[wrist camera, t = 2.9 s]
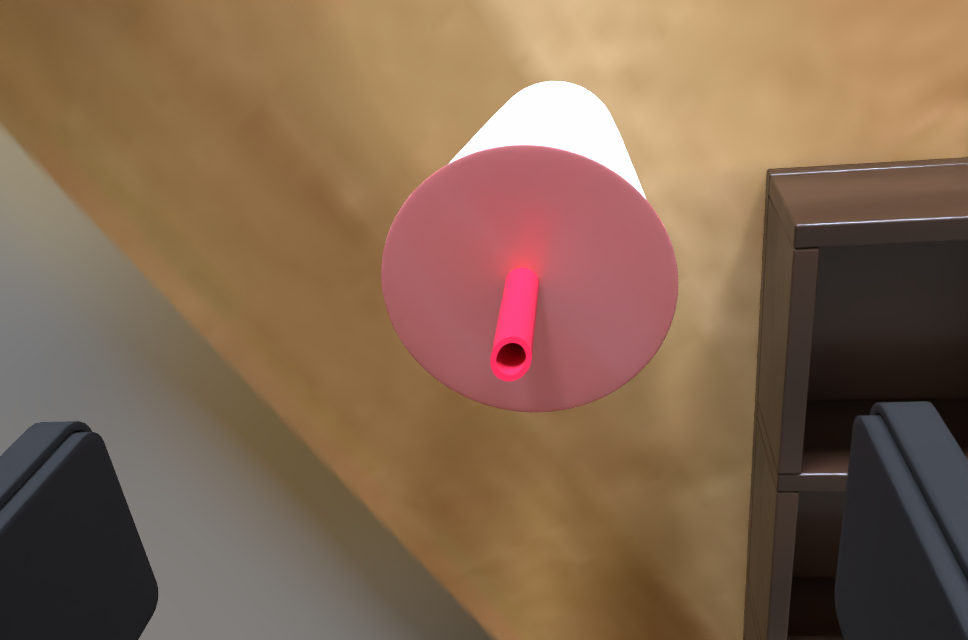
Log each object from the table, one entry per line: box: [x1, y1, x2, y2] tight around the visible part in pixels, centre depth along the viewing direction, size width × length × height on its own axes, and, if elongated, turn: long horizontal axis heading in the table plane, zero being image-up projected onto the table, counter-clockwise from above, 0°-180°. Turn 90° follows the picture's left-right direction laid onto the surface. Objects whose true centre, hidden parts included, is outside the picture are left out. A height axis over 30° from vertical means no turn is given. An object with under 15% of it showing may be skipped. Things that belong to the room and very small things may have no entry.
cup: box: [381, 81, 678, 412], centre depth 18 cm, size 5×5×12 cm
